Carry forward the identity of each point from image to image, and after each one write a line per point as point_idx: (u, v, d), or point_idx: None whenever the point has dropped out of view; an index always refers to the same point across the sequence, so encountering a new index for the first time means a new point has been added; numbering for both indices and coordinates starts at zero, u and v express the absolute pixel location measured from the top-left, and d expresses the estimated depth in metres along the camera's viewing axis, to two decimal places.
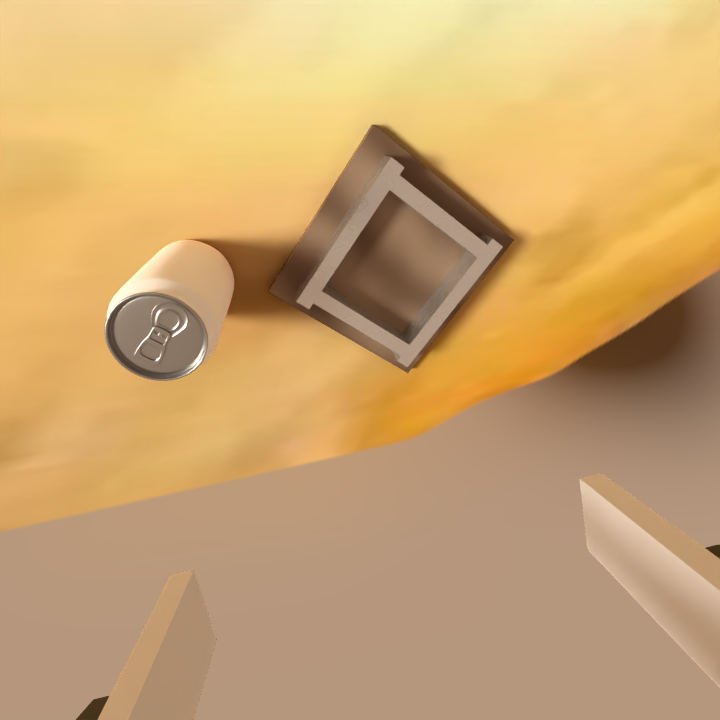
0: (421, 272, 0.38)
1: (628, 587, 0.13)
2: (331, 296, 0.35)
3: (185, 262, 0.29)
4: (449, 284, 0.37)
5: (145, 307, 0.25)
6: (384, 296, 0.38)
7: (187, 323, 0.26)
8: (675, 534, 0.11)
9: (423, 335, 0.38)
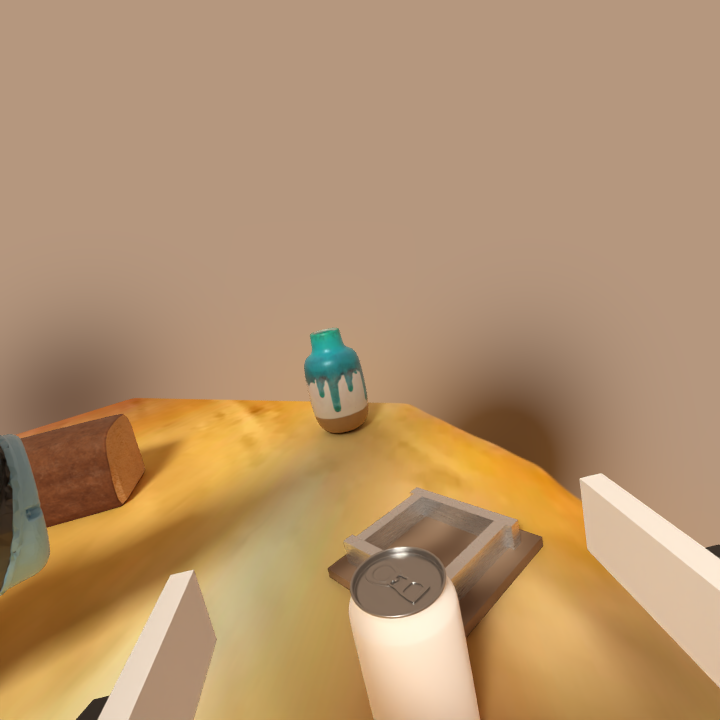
0: (440, 537, 0.46)
1: (628, 587, 0.13)
2: None
3: None
4: (445, 511, 0.47)
5: (366, 587, 0.26)
6: None
7: (390, 561, 0.27)
8: (675, 534, 0.11)
9: (484, 514, 0.44)
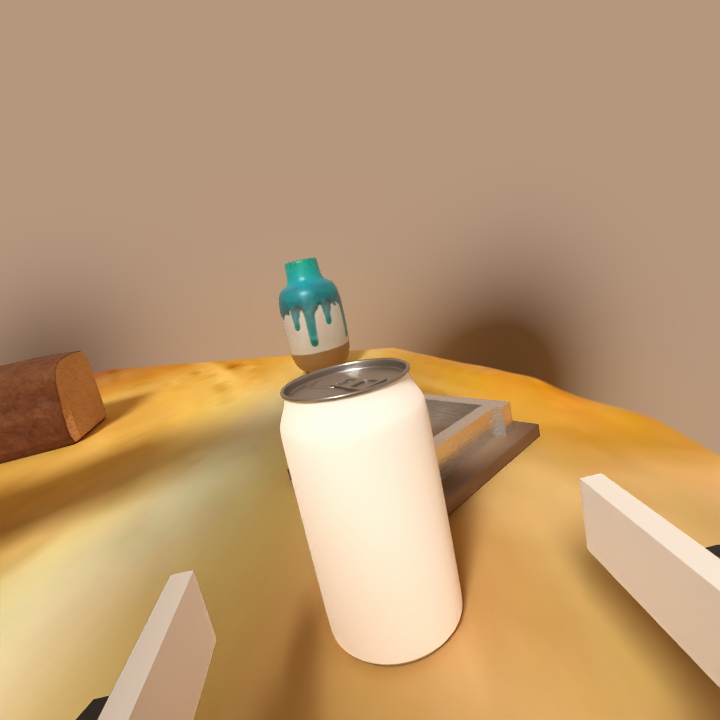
0: None
1: (628, 587, 0.13)
2: None
3: None
4: None
5: (303, 392, 0.19)
6: None
7: (340, 374, 0.21)
8: (675, 534, 0.11)
9: (471, 401, 0.37)
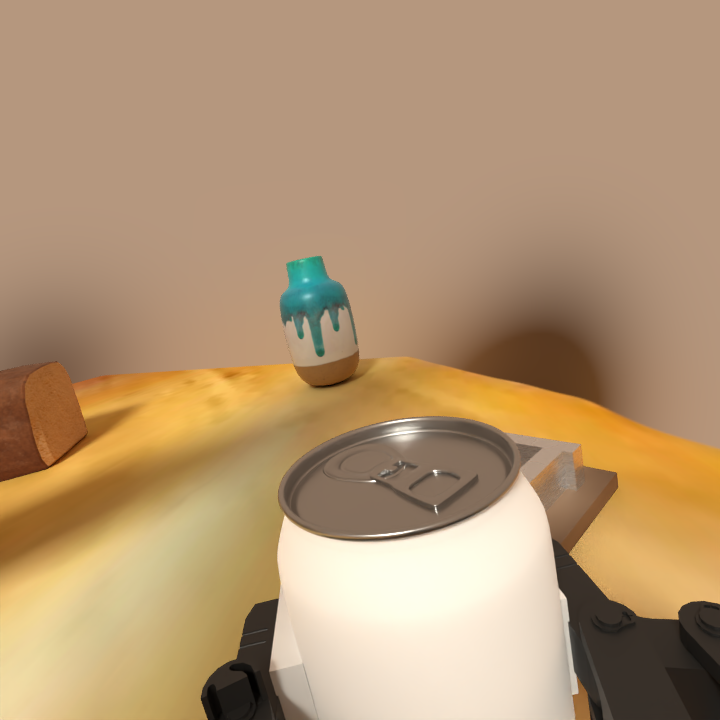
0: None
1: None
2: None
3: None
4: None
5: (320, 487, 0.11)
6: None
7: (382, 444, 0.12)
8: None
9: (526, 441, 0.29)
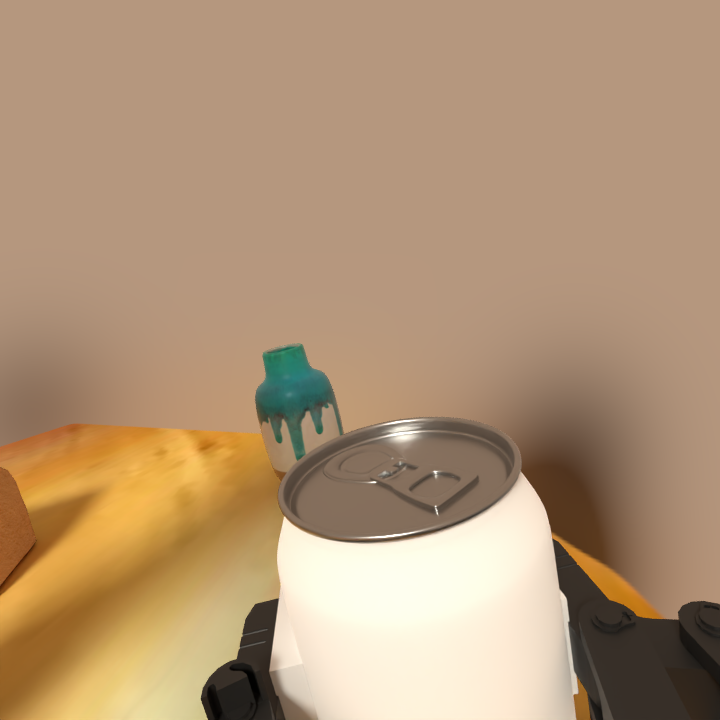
0: None
1: None
2: None
3: None
4: None
5: (320, 487, 0.11)
6: None
7: (382, 444, 0.12)
8: None
9: None
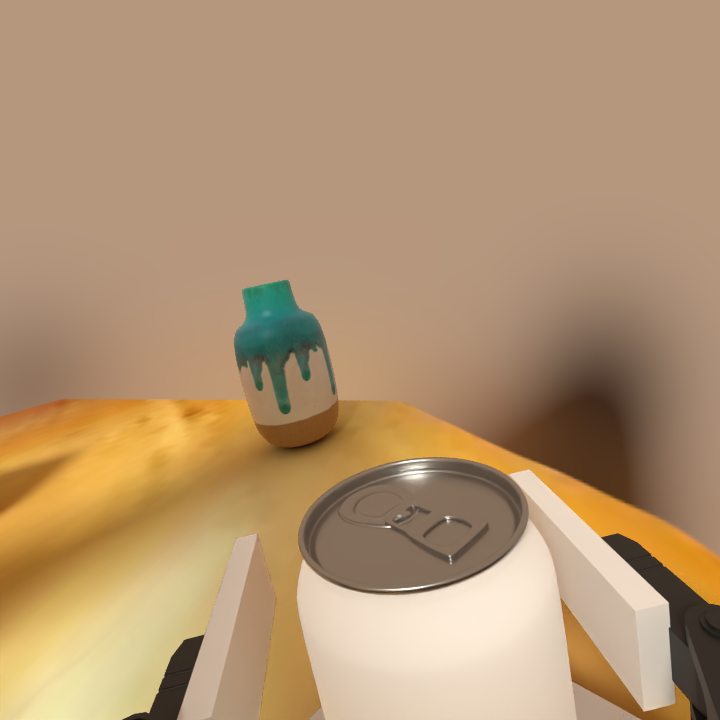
0: None
1: None
2: None
3: None
4: None
5: (338, 531, 0.11)
6: None
7: (393, 485, 0.13)
8: (577, 523, 0.12)
9: None
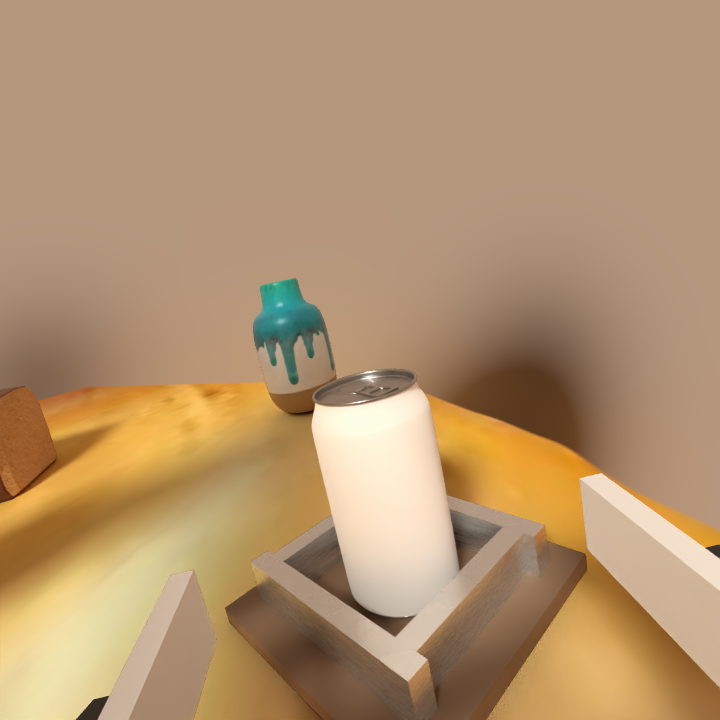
0: None
1: (628, 587, 0.13)
2: None
3: None
4: None
5: (330, 397, 0.23)
6: None
7: (359, 382, 0.25)
8: (675, 535, 0.11)
9: (486, 515, 0.26)
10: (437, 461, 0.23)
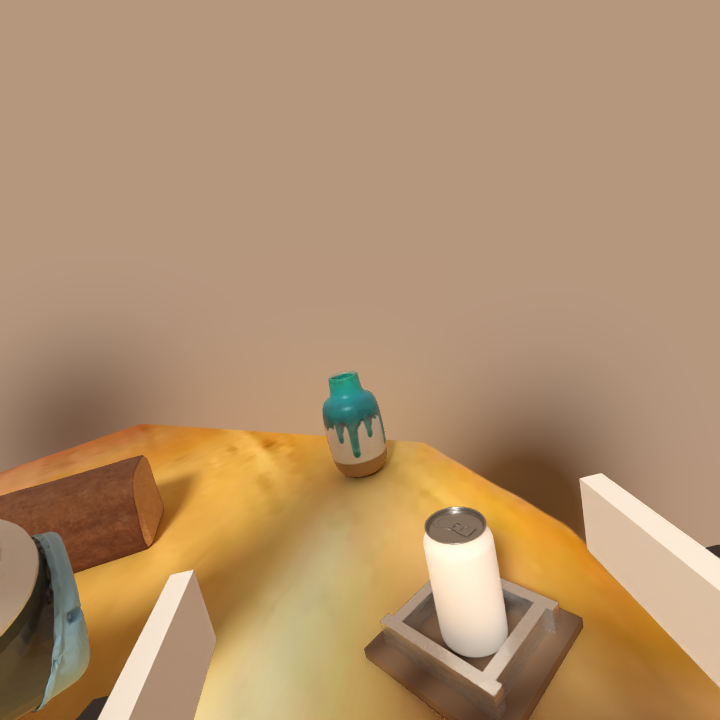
0: None
1: (628, 587, 0.13)
2: None
3: None
4: None
5: (435, 530, 0.41)
6: None
7: (448, 515, 0.42)
8: (674, 534, 0.11)
9: (523, 593, 0.43)
10: (497, 568, 0.40)
